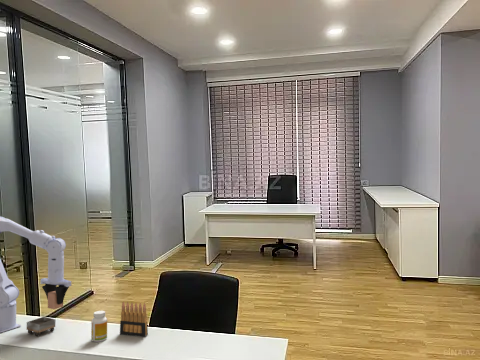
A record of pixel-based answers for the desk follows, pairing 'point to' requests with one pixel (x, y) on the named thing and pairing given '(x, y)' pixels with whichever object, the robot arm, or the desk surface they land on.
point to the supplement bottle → (99, 327)
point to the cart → (40, 325)
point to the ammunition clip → (133, 321)
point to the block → (53, 301)
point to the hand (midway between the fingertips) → (55, 303)
